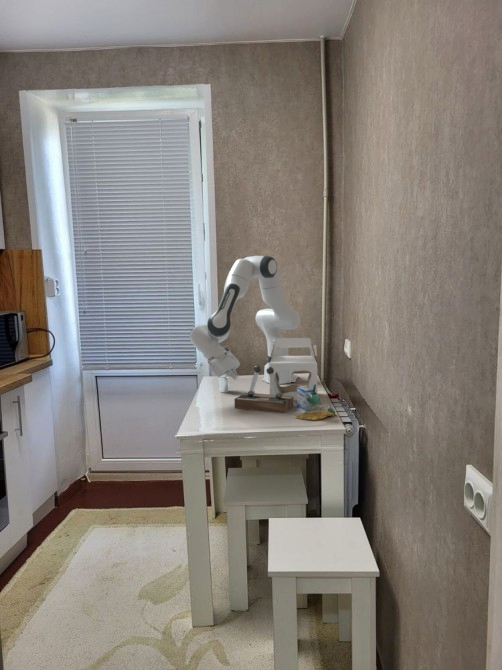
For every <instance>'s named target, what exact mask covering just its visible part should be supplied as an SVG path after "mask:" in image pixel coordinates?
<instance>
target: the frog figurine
mask: <svg viewBox="0 0 502 670" xmlns="http://www.w3.org/2000/svg"><path fill="white" fill-rule="evenodd" d="M315 389H316V384H314V386H313V392H312V393H309V396H308V398H307V401H308V402H309V403H307V404H310V406H308V408H309V407H311V406H313V407H314V408H315V409H316V410H311V408H312V407H311V408H310V410H308V408H307V410H306V411H304V412H302V414H299V415H296V416H294V419H297V420H298V419H299V420H302V419H303V421H305V420H309V421H310V420H312V421H318V420H322V419H324V418H326V417H327V416H331V417H334V416H333V415H336V416H338V414H337V413H336V411H335V410H334V409H333V407H331V404H329V407H328V406H327V405H324V406H322V407H319V406H318V405H322V403H321V397H320V396H319V394H318V392H317V393H316V392H315ZM309 392H310V390H309ZM304 403H306V401H305V402H304ZM325 407H326V408H327V410H325V409H324V410H323V408H325ZM318 409H319V410H318Z"/></svg>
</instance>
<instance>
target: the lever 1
mask: <svg viewBox="0 0 502 670" xmlns="http://www.w3.org/2000/svg"><path fill="white" fill-rule="evenodd" d="M253 371H254V372H253V376H252V379H251V383H250V387H249V391H248V392H247V393H248V396H250V397H251V396H253V395H254V394H255V393H256V392H255V389H256V387H257V386H256V385H257V381H258V377H259V373H261V371H262V368H261V366H259V365H255V366H254V367H253Z"/></svg>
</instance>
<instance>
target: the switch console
mask: <svg viewBox="0 0 502 670" xmlns="http://www.w3.org/2000/svg"><path fill="white" fill-rule="evenodd" d="M293 406H294V400H293V396H282V397H281V398H280V399H277V398H276V395H270V393H268V394H267V393H256V392H255V394H254V395H253V396H251V397H250V396H248V392H243V393H242V394H241V395H239V396H236V398H234V409H243V410H252V411H261V412H273V413H275V412H276V413H283V414H285V413H287V412H288V411H289V410H290V409H291V408H292V407H293Z"/></svg>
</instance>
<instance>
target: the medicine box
mask: <svg viewBox="0 0 502 670" xmlns="http://www.w3.org/2000/svg"><path fill="white" fill-rule="evenodd" d="M300 386H301V385H300ZM309 390H310V392H309ZM312 392H313V390H312V389H310V388H308V387H307V385H305V386H304V385H303V386H301V387H297V400H296V406H297V407H298V408H300V409H302V410H303V411H304V412H306V411H314V410H315V406H314V407H313V406H311V407H312V408H311V407H309V408H308V406H310V404H307V403H309V402H308V401H307V398H308V396H309V393H312ZM305 401H306V403H304V402H305ZM307 408H308V410H307ZM310 408H311V410H310Z"/></svg>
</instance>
